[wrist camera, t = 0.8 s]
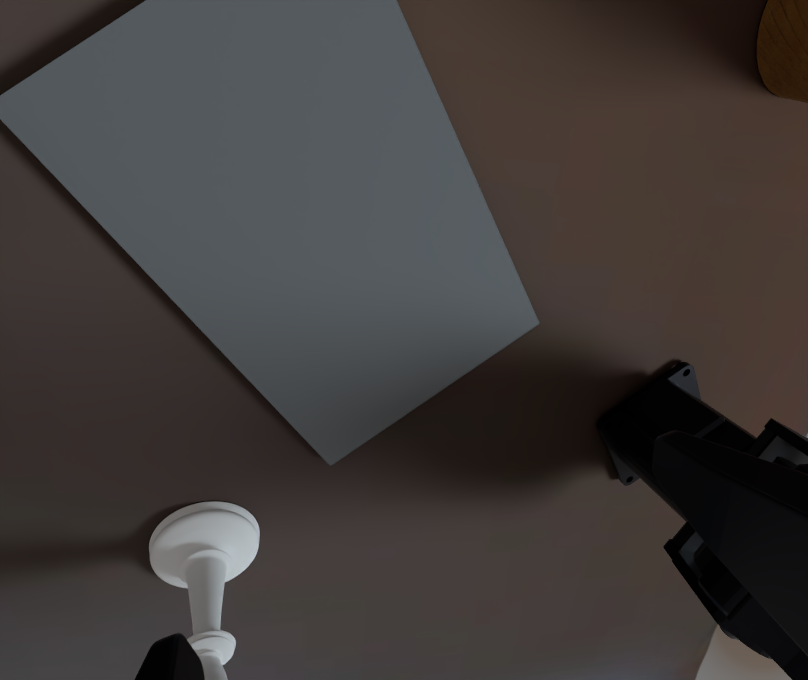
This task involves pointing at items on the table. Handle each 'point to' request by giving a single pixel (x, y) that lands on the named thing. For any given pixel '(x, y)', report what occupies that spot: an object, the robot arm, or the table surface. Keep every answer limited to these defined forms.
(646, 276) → the table surface
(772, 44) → the disposable coffee cup
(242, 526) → the chess piece
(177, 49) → the slate mat
